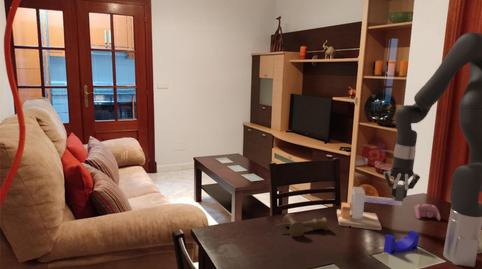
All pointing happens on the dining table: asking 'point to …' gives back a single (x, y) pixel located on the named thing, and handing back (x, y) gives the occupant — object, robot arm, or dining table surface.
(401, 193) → the shaft
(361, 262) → the dining table surface
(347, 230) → the dining table surface
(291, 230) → the kendama
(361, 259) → the dining table surface
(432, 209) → the video game controller
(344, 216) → the block
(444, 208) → the dining table surface
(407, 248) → the cable clip
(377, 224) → the stand
